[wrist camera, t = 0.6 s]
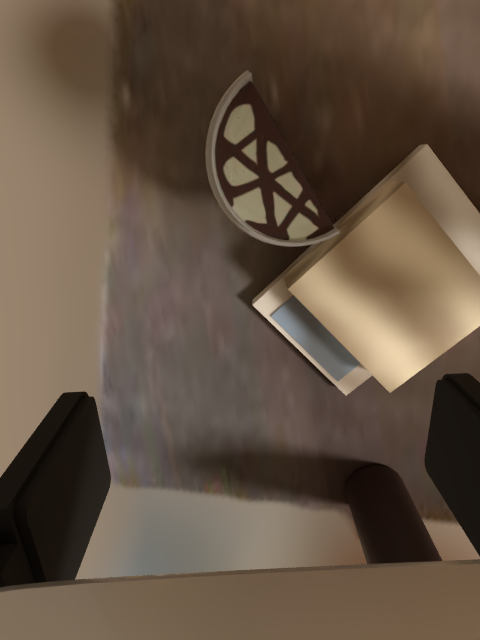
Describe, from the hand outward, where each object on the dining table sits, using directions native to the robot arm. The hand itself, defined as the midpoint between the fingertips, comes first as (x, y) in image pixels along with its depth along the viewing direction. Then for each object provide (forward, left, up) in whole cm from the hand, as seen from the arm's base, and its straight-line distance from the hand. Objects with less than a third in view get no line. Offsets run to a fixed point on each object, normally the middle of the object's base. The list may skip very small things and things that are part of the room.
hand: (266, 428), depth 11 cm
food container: (-4, -4, -29) cm, 29 cm away
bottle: (+10, +31, -29) cm, 44 cm away
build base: (-6, +11, -29) cm, 31 cm away
